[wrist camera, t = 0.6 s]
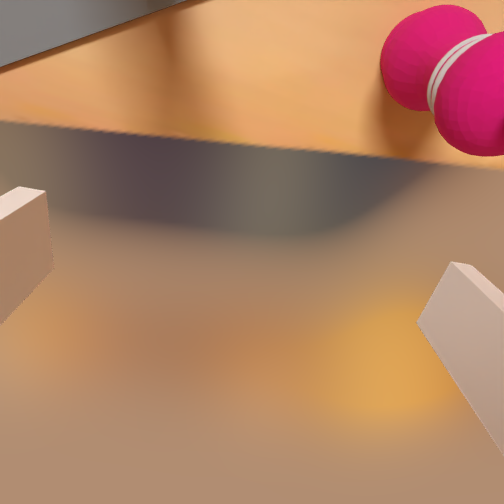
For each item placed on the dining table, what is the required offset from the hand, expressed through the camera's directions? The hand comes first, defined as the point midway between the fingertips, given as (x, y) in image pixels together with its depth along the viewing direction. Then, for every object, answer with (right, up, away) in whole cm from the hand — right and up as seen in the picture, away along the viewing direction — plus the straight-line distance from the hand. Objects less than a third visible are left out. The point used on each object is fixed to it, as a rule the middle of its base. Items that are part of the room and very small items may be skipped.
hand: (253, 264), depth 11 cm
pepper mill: (+15, +18, +19) cm, 30 cm away
